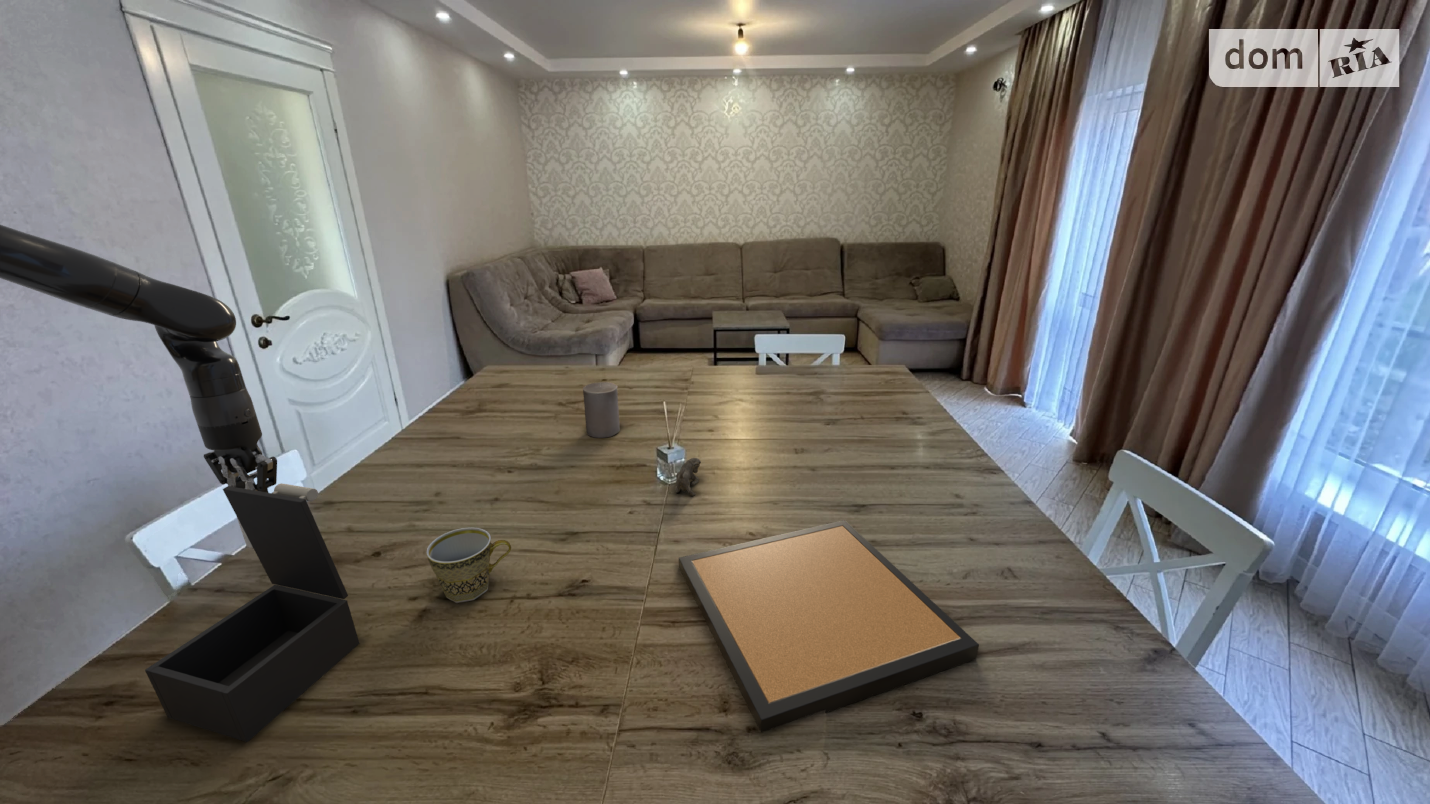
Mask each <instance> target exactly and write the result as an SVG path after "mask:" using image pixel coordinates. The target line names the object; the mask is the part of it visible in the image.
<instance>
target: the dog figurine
mask: <svg viewBox="0 0 1430 804" xmlns="http://www.w3.org/2000/svg"><path fill="white" fill-rule="evenodd" d="M701 463H702V461H701V460H700V458H698V457H691V458H688V459H687V460H686V461H685V462H684V463H683V464H682V465H681V467H680V469H679V471H678V472H677V473H676V475H675V478H676V480H675V485H676V487H675V493H676V494H678V493H679V492H680V491H682V492H686V491H687V493H688V494H689V495H690V496H691V497H694V496H696V493H695V492H694V491H693V490H692V488H691V487H693V486H695V485H697V484H698V483H699V482H700V479H699V477H698V476H697V475H696V474H697V473H698V472H699V467H700V465H701Z"/></svg>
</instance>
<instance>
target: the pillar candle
mask: <svg viewBox="0 0 1430 804" xmlns="http://www.w3.org/2000/svg"><path fill="white" fill-rule="evenodd" d="M582 394H583V406H584V419H585V420H584V421H585V430H586V431H585V432H586V434H587V436H589V437H592V438H596V439H597V438H599V439H602V438H611V437H613V436H615V435H616V434H618V433H620V431H621V428H620V408H619V396H618V395H619V394H618V385H617V384H615V383H613V382H608V381H599V382H597V381H596V382H592V383H588V384H586V385H585V386H583V387H582Z"/></svg>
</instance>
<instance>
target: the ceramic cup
mask: <svg viewBox="0 0 1430 804" xmlns="http://www.w3.org/2000/svg"><path fill="white" fill-rule="evenodd" d="M504 545H505V546H507V547H508V550H507V551H506V552H505V553H503V554H502V555H501V556H500V557H499V558H498V559H497V560H496V561H495V562H494V563H491V556H492V554H493V552H494V550H495V549H496V548H497V547H499V546H504ZM511 550H512V545H511V543H510V542H509V541H508V540H506V539H498V540H496V541H494V542H493V543H492V536H491V533H490V532H489V531H487V529H484V528H480V527H461V528H457V529H453V530H450V531H448V532H447V531H446V532H445V533H443V534H441V535H439V536H437V537H436V538H435V539H434V540H432V541H431V542H430V543H429V544H428V546H427V548H426V551H425V554H426V555H425V556H426V557H427V560H428V563H429V566H430V567H431V569H432V571H433V573H434V575H435V577H436V578H437V581H438V584H439V586H440V587H441V589H442V592H443V593H444V595H445V598H446V599H448V600H450V601H452V602H454V603H456V604H458V603H459V604H460V603H465V602H469V601H474V600H476V599H478V598H479V597H481V596H482V595H483V594H485V593H486V592H487V591H488V590H489V584H490V574H491V573H492V571H493V569H494V568H495V567H496V566H497V565H498V564H499V563H501V561H502V560H503V559H504V558H505V557H506V556H508V555H509V554H510V553H511Z"/></svg>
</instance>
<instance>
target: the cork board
mask: <svg viewBox="0 0 1430 804" xmlns="http://www.w3.org/2000/svg"><path fill="white" fill-rule="evenodd" d="M678 569H679V570H680V572H681V575H682V577H683V579H684V581H685V582H686V585H687V587H688V589H689V590H690V593H691V595H692V597H693V600H694V601H695V603H696V605H697V607H698V609H699V611H700V613H701V616H702V617H703V619H704V620H705V623H706V624H707V627H708V629H709V631H710V633H711V635H712V637H713V639H714V641H715V643H716V646H717V647H718V649H719V651H720V653H721V655H722V657H723V659H724V661H725V664H726V666H727V667H728V669H729V671H730V673H731V675H732V677H733V679H734V681H735V683H736V686H737V687H738V689H739V692H740V694H741V696H742V697H743V700H744V701H745V704H746V706H747V707H748V709H749V711H750V713H751V715H752V718H753V719H754V722H755V723H756V726H757V728H758V730H759V731H760V733H764V732H766V731H769V730H772V729H775V728H777V727H780V726H784V725H785V724H788V723H789V724H790V723H791V722H794V721H797V720H800V719H802V718H805V717H808V716H811V715H814V714H817V713H820V712H823V711H824V713H825V714H826V713H829V712H832V711H835V710H838V709H841V708H844V707H846V706H849V705H852V704H855V703H857V702H861V701H863V700H866V699H869V698H871V697H874V696H877V695H880V694H883V693H886V692H888V691H890V690H894V689H896V688H899V687H903V686H905V685H908V684H910V683H913V682H916V681H919V680H922V679H924V678H928V677H930V676H934V675H936V674H939V673H941V672H944V671H947V670H949V669H953V668H955V667H958V666H960V665H964V664H966V663H969V662H972V661H974V660H977V657H978V652H979V647H980V644H979V643H978V642H977V641H976V640H975V639H974V638H973V637H972V636H971V635H969V634H968V633H967V632H966V631H965V630H964V629H963V628H962V627H961V626H959V624H958V623H957V622H955V621H954V620H953V619H952V618H951V617H950V616H949V615H948V614H947V613H946V612H945V611H943V610H942V609H941V608H940V607H939V606H938V605H937V604H936V603H935V602H934V601H933V600H932V599H931V598H929V597H928V596H927V594H925V593H924V592H923V591H922V590H921V588H919V587H918V586H917V585H915V584H914V583H913V582H912V581H911V580H910V579H909V578H908V577H907V576H906V575H905V574H904V573H903V572H901V571H900V569H898V568H897V567H896V566H895V565H894V564H893V563H892V562H891V561H890V560H889V559H887V557H885V556H884V555H883V554H882V553H881V552H880V551H879V550H878V549H877V548H876V547H875V546H874V545H872V544H871V542H869V541H868V540H867V539H866V538H865V537H864V536H863V535H862V534H861V533H859V532H858V531H857V529H855V528H854V527H853V526H852V525H851V524H850V523H848V521H846V520H845V519H842V520H838V521H833V522H828V523H825V524H824V523H823V524H820V525H816V526H810V527H806V528H803V529H798V530H793V531H789V532H785V533H780V534H776V535H772V536H767V537H763V538H759V539H755V540H750V541H745V542H741V543H736V544H732V545H728V546H723V547H719V548H715V549H710V550H706V551H701V552H696V553H692V554H688V555H684V556H680V557H678Z"/></svg>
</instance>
